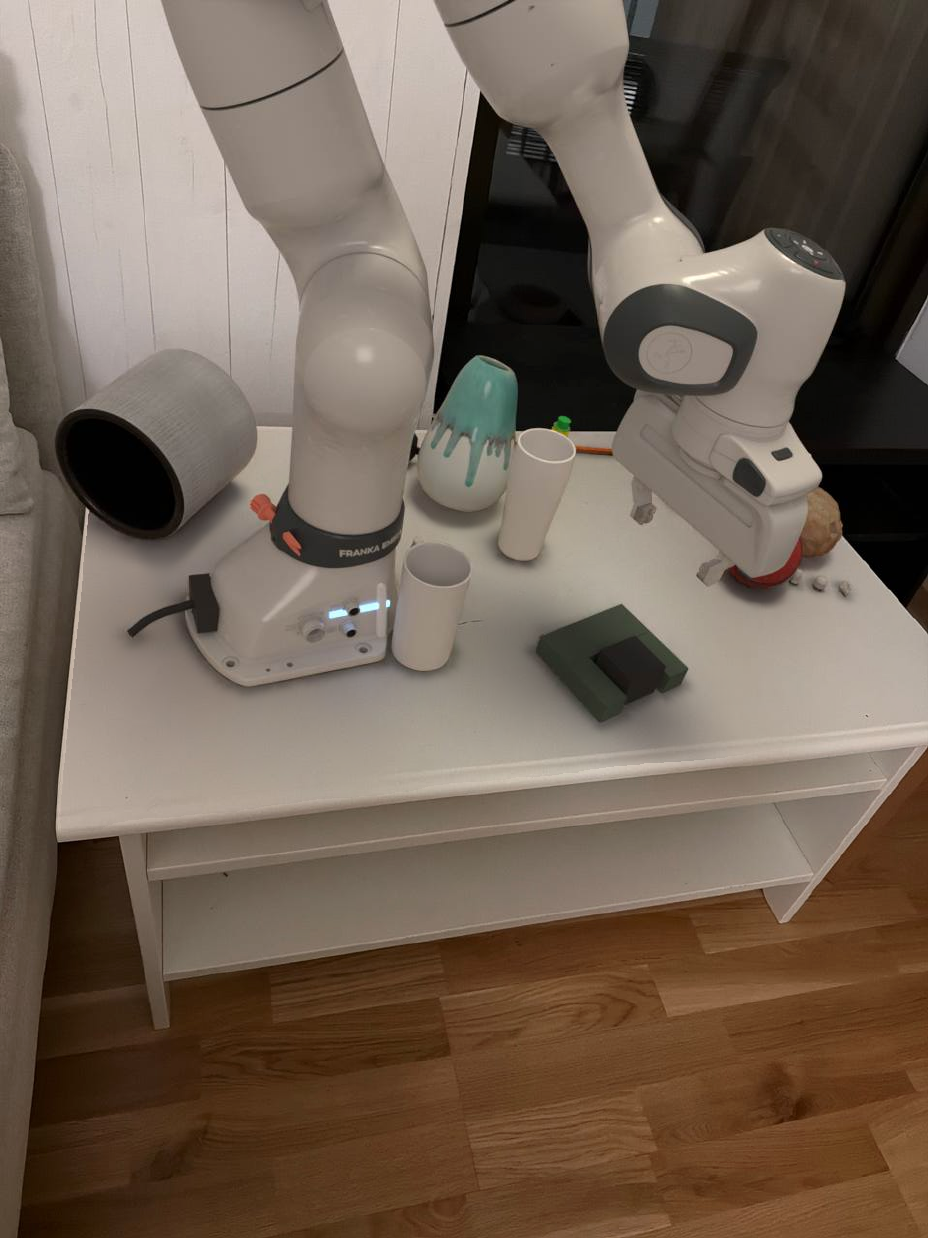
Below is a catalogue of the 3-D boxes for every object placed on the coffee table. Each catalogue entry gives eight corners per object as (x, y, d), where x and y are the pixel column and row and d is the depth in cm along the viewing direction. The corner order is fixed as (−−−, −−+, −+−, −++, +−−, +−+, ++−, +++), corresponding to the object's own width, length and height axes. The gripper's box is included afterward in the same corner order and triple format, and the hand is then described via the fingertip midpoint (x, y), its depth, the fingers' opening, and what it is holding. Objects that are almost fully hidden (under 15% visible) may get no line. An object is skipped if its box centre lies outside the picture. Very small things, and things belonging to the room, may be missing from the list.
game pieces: (847, 586, 124) (854, 576, 122) (849, 599, 122) (857, 588, 121) (787, 572, 123) (794, 562, 121) (789, 584, 122) (796, 574, 120)
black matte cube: (654, 692, 104) (666, 666, 101) (620, 707, 101) (631, 681, 99) (624, 660, 107) (635, 635, 104) (590, 675, 104) (600, 649, 101)
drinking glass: (550, 540, 120) (582, 438, 109) (539, 573, 115) (571, 469, 105) (498, 524, 120) (524, 420, 110) (484, 556, 115) (510, 451, 105)
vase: (493, 488, 127) (533, 355, 119) (506, 529, 118) (551, 387, 109) (406, 471, 125) (440, 334, 116) (413, 511, 115) (450, 365, 106)
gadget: (793, 543, 127) (833, 549, 113) (744, 596, 128) (776, 609, 114) (741, 495, 127) (774, 495, 112) (691, 549, 128) (718, 556, 113)
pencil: (652, 455, 138) (654, 458, 137) (531, 446, 134) (532, 448, 133) (654, 450, 137) (655, 453, 137) (532, 441, 133) (533, 444, 133)
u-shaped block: (600, 722, 99) (606, 706, 98) (534, 652, 105) (540, 635, 103) (681, 683, 106) (689, 668, 104) (615, 619, 111) (621, 603, 110)
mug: (461, 668, 101) (482, 583, 93) (400, 678, 99) (416, 591, 91) (429, 602, 108) (447, 517, 100) (371, 610, 105) (384, 523, 97)
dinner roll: (734, 541, 123) (736, 546, 133) (838, 562, 120) (832, 565, 129) (752, 467, 123) (753, 477, 132) (857, 486, 119) (849, 495, 129)
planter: (117, 359, 113) (24, 422, 102) (219, 329, 104) (130, 394, 93) (186, 479, 121) (107, 549, 110) (285, 460, 112) (211, 534, 101)
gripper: (622, 369, 87) (579, 492, 97) (790, 503, 77) (724, 627, 86) (671, 359, 91) (625, 479, 100) (838, 487, 80) (769, 608, 90)
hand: (672, 549), depth 93 cm, fingers open, 8 cm apart
